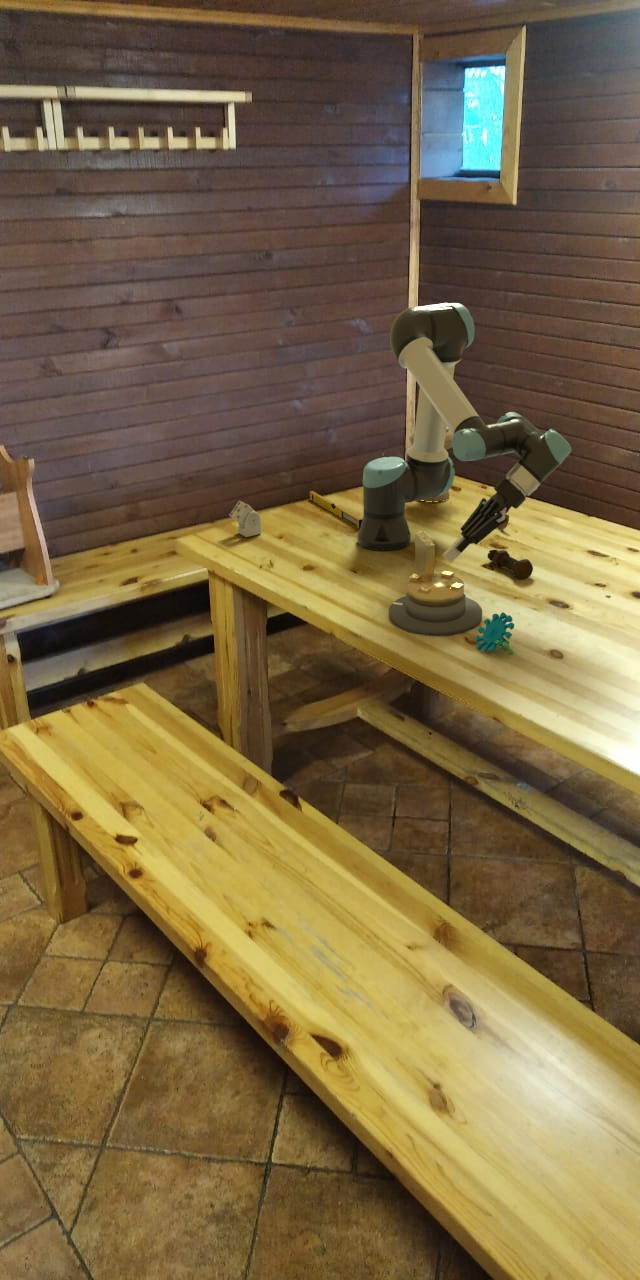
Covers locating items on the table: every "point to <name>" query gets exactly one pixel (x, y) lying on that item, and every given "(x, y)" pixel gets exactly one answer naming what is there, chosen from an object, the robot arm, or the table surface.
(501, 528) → the wood plank
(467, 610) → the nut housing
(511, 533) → the table surface
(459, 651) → the table surface
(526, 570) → the bolt
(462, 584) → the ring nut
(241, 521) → the mechanical component
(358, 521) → the spirit level
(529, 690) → the table surface
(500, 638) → the teal spiky piece
